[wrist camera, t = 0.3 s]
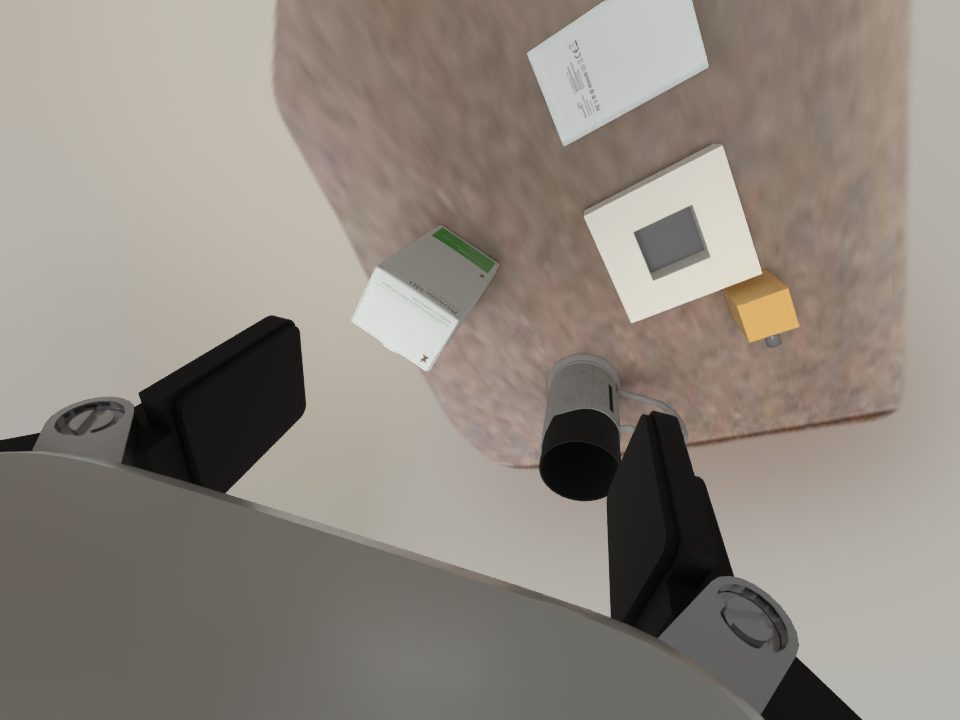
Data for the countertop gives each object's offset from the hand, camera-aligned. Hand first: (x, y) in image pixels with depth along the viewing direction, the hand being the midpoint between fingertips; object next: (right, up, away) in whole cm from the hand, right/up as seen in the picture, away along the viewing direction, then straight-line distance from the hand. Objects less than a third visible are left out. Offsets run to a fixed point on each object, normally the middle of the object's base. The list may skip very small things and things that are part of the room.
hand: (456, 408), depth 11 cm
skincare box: (-2, +12, +37) cm, 39 cm away
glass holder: (+16, -1, +40) cm, 43 cm away
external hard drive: (+12, +27, +25) cm, 39 cm away
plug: (+28, +8, +31) cm, 42 cm away
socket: (+19, +13, +30) cm, 38 cm away
